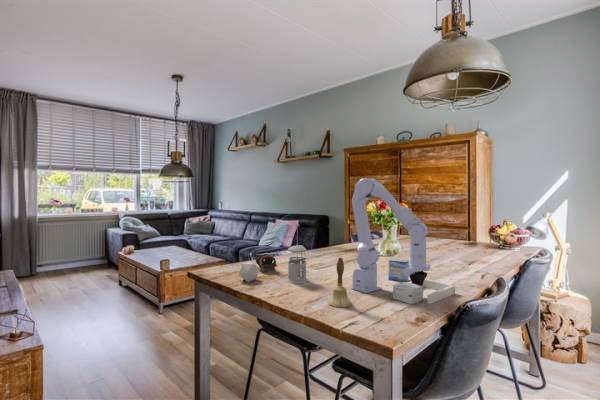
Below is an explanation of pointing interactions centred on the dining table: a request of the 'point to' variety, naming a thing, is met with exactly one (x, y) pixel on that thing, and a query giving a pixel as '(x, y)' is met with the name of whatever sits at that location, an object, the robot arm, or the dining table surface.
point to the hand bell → (339, 289)
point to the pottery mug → (266, 263)
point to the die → (248, 271)
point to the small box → (408, 292)
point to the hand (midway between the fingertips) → (417, 291)
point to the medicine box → (398, 270)
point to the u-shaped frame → (443, 291)
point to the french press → (297, 265)
